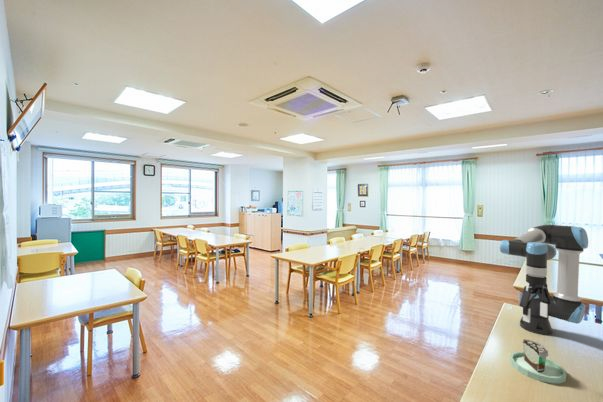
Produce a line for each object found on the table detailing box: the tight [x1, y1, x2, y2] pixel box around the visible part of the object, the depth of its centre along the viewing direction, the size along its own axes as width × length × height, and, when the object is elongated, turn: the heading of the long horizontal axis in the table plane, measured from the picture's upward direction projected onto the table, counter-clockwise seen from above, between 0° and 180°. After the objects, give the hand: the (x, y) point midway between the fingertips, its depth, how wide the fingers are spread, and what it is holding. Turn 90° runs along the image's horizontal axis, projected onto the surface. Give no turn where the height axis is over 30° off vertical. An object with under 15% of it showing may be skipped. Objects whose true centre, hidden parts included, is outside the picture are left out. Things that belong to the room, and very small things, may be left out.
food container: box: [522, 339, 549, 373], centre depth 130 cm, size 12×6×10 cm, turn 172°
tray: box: [509, 351, 567, 385], centre depth 130 cm, size 20×20×2 cm
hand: (535, 318), depth 132 cm, fingers open, 13 cm apart
